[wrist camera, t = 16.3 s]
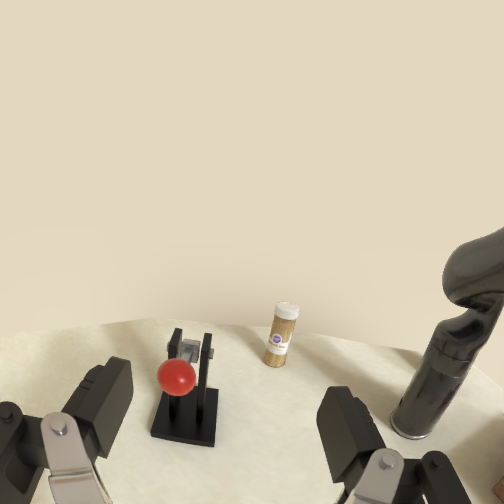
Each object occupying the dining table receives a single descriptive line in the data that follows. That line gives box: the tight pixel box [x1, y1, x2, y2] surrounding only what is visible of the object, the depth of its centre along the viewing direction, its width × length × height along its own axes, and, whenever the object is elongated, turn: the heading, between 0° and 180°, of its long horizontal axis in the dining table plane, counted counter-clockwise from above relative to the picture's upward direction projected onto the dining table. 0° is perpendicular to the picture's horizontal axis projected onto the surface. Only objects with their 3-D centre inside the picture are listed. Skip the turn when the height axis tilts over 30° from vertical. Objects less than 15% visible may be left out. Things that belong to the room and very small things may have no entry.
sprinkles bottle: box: [264, 302, 299, 367], centre depth 53 cm, size 5×5×14 cm
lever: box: [157, 339, 201, 396], centre depth 28 cm, size 14×4×4 cm, turn 2°
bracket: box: [151, 328, 219, 447], centre depth 35 cm, size 12×9×15 cm
